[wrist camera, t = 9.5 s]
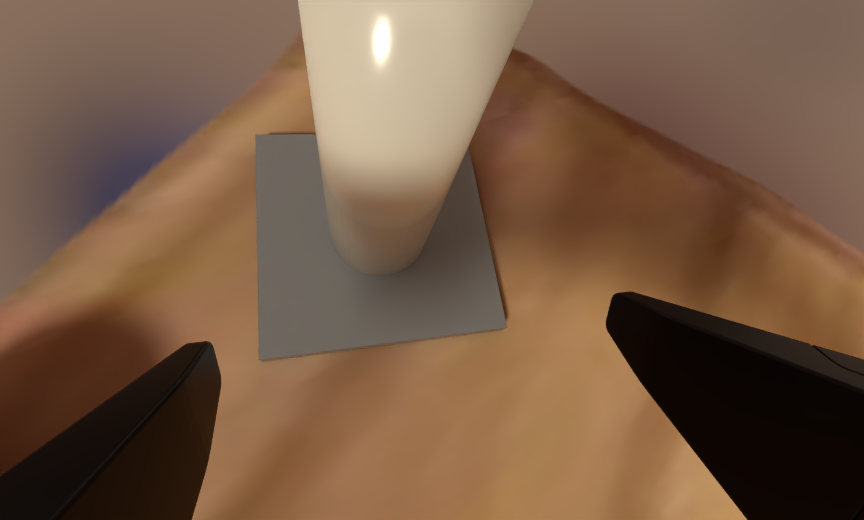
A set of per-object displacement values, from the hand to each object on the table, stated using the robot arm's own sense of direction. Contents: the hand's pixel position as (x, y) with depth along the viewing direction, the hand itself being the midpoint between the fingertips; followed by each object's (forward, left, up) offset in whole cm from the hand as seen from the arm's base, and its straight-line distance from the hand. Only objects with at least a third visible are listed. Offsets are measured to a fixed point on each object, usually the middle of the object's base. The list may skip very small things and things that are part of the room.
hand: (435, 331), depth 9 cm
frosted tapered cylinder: (+5, -4, -9) cm, 11 cm away
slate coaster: (+5, -5, -10) cm, 12 cm away
